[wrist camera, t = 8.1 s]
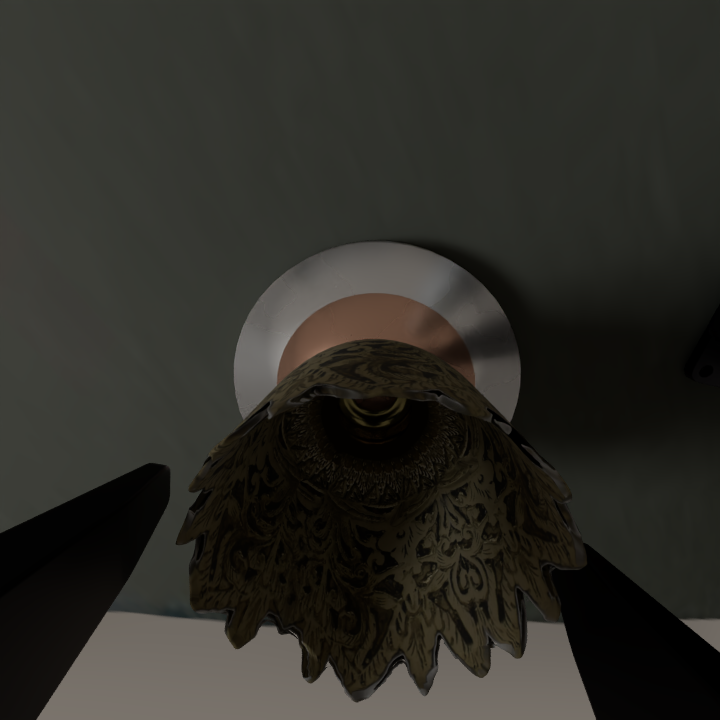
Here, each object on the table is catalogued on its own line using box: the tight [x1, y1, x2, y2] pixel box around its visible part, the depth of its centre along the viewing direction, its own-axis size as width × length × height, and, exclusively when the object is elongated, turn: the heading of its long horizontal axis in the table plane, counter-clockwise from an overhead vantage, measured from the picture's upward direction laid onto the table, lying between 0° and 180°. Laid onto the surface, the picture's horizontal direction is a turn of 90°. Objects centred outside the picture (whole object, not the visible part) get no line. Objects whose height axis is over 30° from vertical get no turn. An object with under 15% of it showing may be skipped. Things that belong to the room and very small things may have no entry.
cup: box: [176, 339, 587, 702], centre depth 11 cm, size 8×7×8 cm
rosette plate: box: [234, 240, 521, 422], centre depth 15 cm, size 11×11×1 cm
